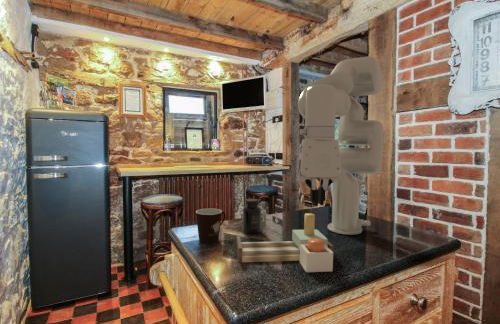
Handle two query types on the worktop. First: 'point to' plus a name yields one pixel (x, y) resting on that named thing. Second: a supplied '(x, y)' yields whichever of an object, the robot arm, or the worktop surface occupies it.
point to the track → (269, 251)
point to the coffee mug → (209, 225)
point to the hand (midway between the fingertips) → (317, 203)
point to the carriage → (307, 232)
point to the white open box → (316, 259)
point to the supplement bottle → (251, 217)
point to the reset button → (315, 245)
